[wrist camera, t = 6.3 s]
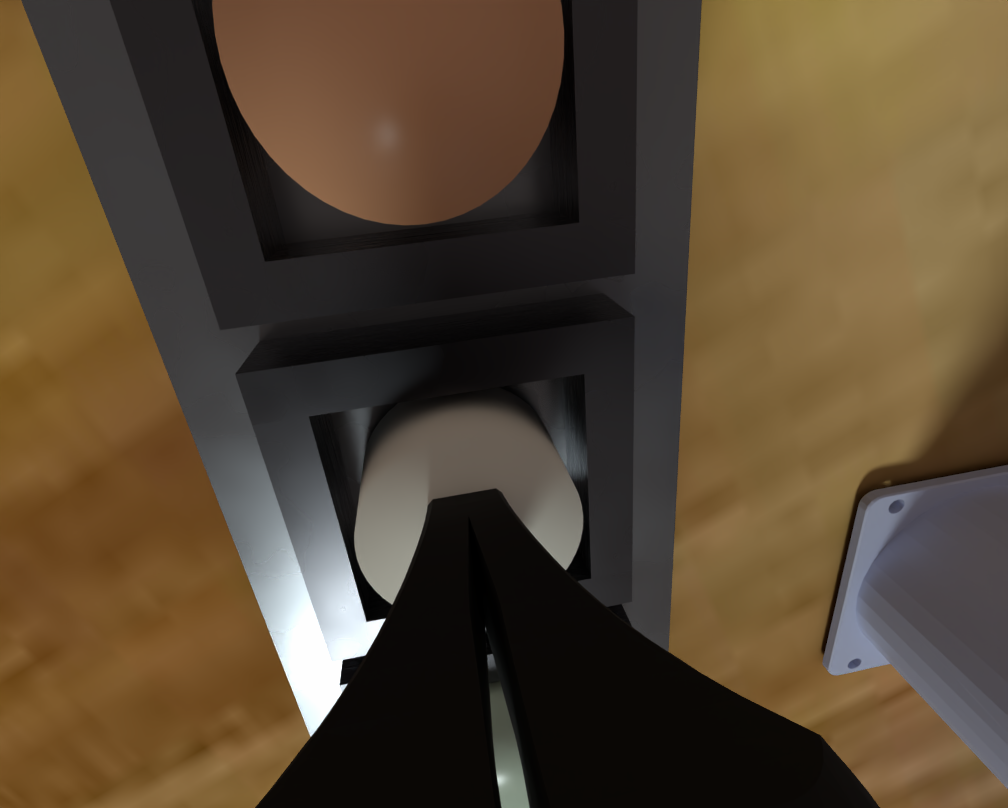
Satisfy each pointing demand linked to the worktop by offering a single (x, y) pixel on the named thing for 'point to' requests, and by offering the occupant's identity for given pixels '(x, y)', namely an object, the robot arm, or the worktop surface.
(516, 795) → the button sage
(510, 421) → the button cream
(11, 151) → the worktop surface
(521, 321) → the tray
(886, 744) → the worktop surface
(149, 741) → the worktop surface
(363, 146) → the button terracotta
